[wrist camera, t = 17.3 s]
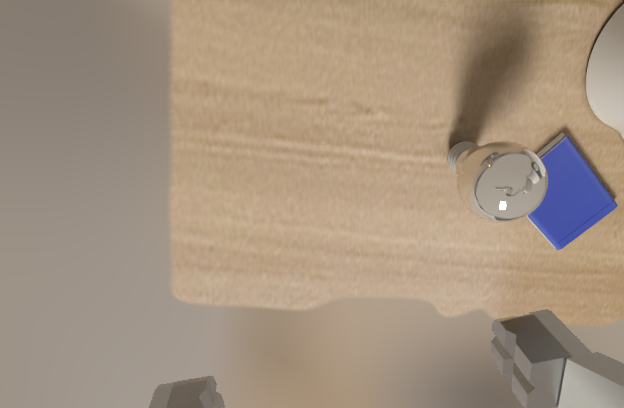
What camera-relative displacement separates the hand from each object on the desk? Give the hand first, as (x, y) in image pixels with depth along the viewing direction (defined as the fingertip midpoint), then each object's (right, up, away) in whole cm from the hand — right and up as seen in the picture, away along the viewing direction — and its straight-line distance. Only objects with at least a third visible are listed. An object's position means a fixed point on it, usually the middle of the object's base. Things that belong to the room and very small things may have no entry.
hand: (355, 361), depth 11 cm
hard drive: (+27, +6, +33) cm, 43 cm away
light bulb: (+14, +10, +29) cm, 34 cm away
